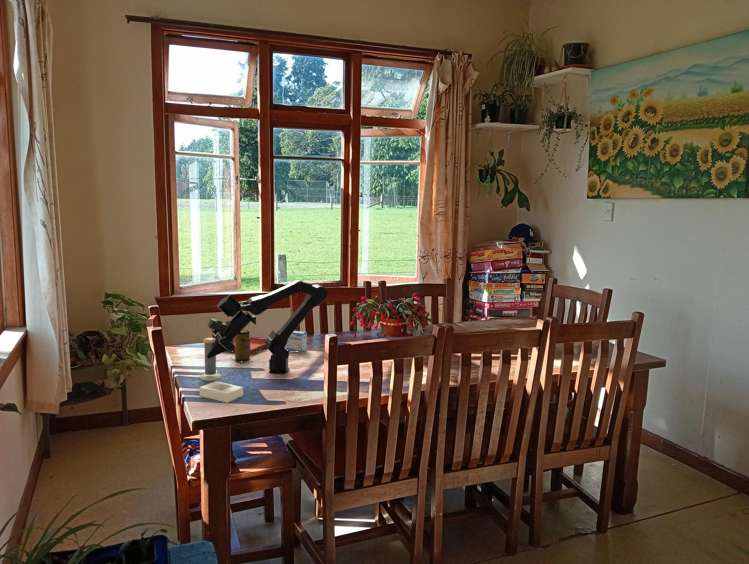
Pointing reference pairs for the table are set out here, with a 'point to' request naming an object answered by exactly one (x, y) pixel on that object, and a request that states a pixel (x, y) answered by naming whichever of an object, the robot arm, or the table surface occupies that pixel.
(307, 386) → the table surface
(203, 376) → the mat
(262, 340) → the plant saucer
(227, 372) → the table surface
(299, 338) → the medicine box
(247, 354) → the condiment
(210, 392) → the square frame
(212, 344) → the plug
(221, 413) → the table surface
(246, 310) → the robot arm
